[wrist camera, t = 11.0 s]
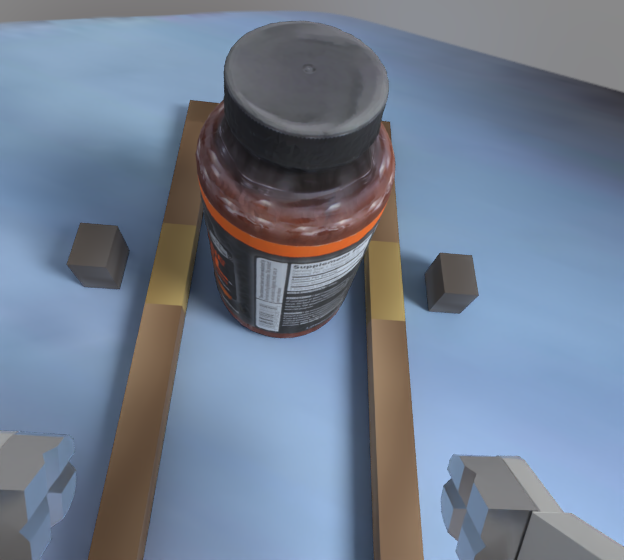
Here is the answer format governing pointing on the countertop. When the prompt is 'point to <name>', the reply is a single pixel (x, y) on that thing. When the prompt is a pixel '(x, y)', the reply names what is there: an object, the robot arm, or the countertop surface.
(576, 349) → the countertop surface
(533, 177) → the countertop surface
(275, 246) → the supplement bottle
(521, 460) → the robot arm
